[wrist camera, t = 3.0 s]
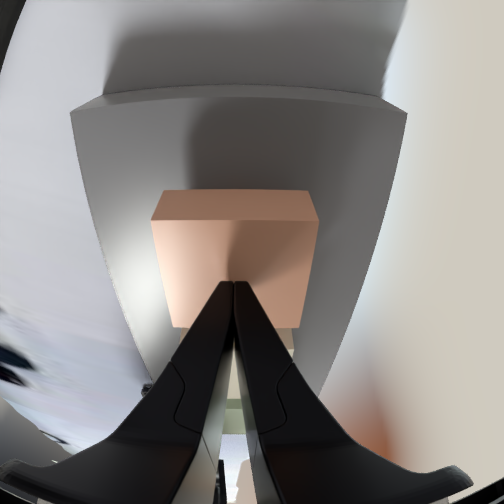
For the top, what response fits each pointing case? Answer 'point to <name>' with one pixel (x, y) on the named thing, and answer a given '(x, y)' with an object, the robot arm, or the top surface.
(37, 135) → the top surface
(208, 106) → the gray rectangular slab
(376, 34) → the top surface
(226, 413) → the pale green cube
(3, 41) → the handheld gaming console
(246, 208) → the peach cube
